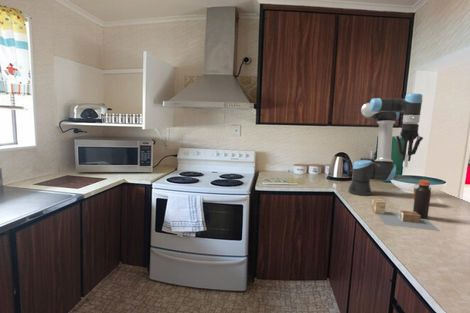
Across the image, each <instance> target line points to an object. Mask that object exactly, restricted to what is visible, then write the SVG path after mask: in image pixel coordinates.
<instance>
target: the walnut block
mask: <svg viewBox="0 0 470 313" xmlns="http://www.w3.org/2000/svg"><path fill="white" fill-rule="evenodd" d="M398 213H399V218H400V220H401V221H404V222H413V223H420V217H421V216H420V215H419V214H418V213H417V212H413V210H411V211H409V210H401V209H399V210H398Z"/></svg>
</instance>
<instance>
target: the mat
mask: <svg viewBox="0 0 470 313" xmlns="http://www.w3.org/2000/svg"><path fill="white" fill-rule="evenodd" d="M377 216H378V217H379V218H380V221H382V222H383V224H384V226H385V225H386V226H392V227H399V228H401V227H403V228H409V229H418V230H419V229H420V230H426V231H427V230H429V231H437V232H440V231H441V230H440V229H439V228H438V227H437V226H435V225H434V224H433V223H431V222H430V221H429V220H428V218H426V219H421V218H420V223H413V222H404V221H401V220H400V218H399V212H392V211H385V214H377Z"/></svg>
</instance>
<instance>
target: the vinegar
mask: <svg viewBox="0 0 470 313" xmlns="http://www.w3.org/2000/svg"><path fill="white" fill-rule="evenodd" d="M418 184H419V187H418V188H417V189H416V192H415V200H414V199H413V209H412V212H417V213H418V214H419V215H420V216H421V217H420V218H421V219H428V216H429V209H430V203H431V195H432V189H431V190H430V189H429V186H430V185H431V181H429V180H425V179H420V180H419V179H418ZM430 187H431V186H430Z"/></svg>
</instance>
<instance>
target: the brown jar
mask: <svg viewBox="0 0 470 313" xmlns="http://www.w3.org/2000/svg"><path fill="white" fill-rule="evenodd" d="M412 187H413V201H414V200H415V192H416V189H417V188H418V187H419V183H414V184H413V186H412ZM429 189H430V190H431V191H432V186H429Z"/></svg>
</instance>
